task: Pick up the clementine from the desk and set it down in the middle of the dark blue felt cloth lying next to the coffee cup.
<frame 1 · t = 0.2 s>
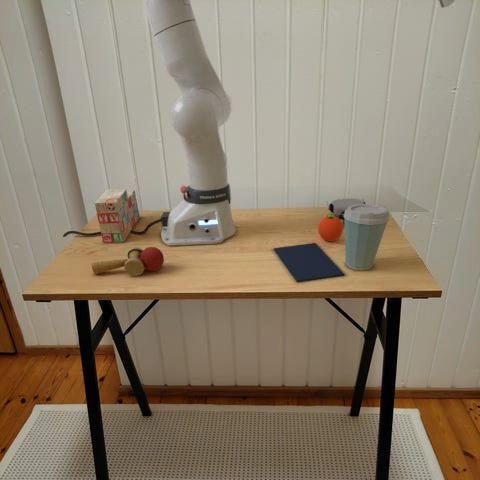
hand: (447, 5, 94), 54 cm above the table, tool tilted 30°, fingers open, 8 cm apart
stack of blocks: (122, 230, 142), on the table
robot toy: (349, 219, 142), on the table
disposable coffee cup: (360, 265, 115), on the table
kendama: (129, 272, 117), on the table
clementine: (329, 240, 129), on the table
cloth: (306, 261, 117), on the table
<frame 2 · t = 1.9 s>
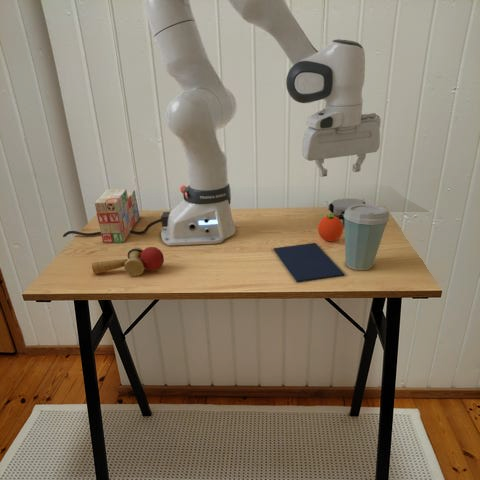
hand: (339, 173, 119), 18 cm above the table, tool pointing down, fingers open, 8 cm apart
nothing on the table moved.
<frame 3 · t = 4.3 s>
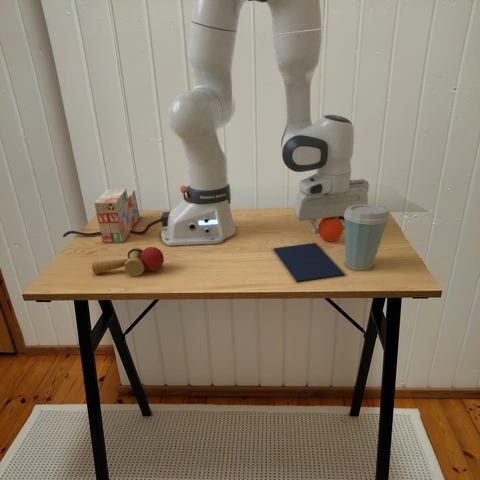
hand: (329, 231, 128), 2 cm above the table, tool pointing down, fingers closed on clementine, 7 cm apart
clementine: (329, 240, 129), on the table, touching gripper
everything else where it was.
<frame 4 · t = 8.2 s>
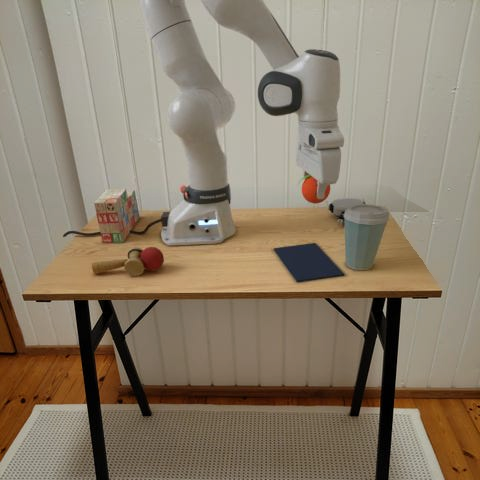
hand: (314, 193, 110), 17 cm above the table, tool pointing down, fingers closed on clementine, 7 cm apart
clementine: (313, 203, 112), point 14 cm above the table, touching gripper
everything else where it was.
when the fingers open (3 cm above the table, at t = 12.4 s): clementine stays where it is, resting on cloth.
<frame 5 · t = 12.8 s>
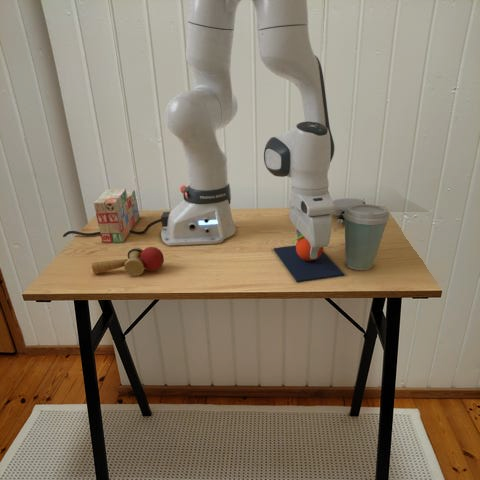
hand: (306, 250, 116), 3 cm above the table, tool pointing down, fingers open, 8 cm apart
clementine: (307, 260, 117), resting on cloth
everything else where it was.
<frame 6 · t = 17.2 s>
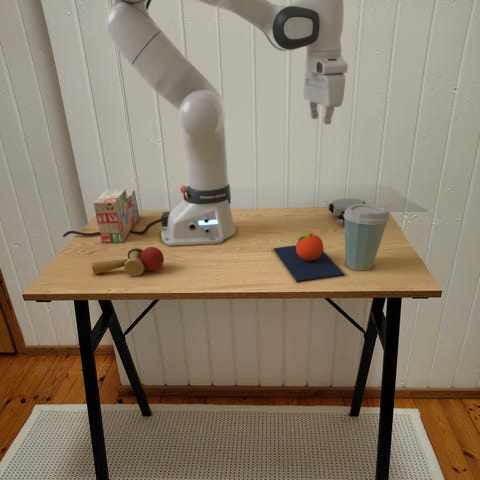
hand: (320, 121, 125), 29 cm above the table, tool pointing down, fingers open, 8 cm apart
nothing on the table moved.
at the end: clementine inside the target area on the cloth (0.2 cm from its centre), point 0.2 cm above the cloth's base; the gripper is holding nothing; disposable coffee cup moved 0.2 cm from its start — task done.
